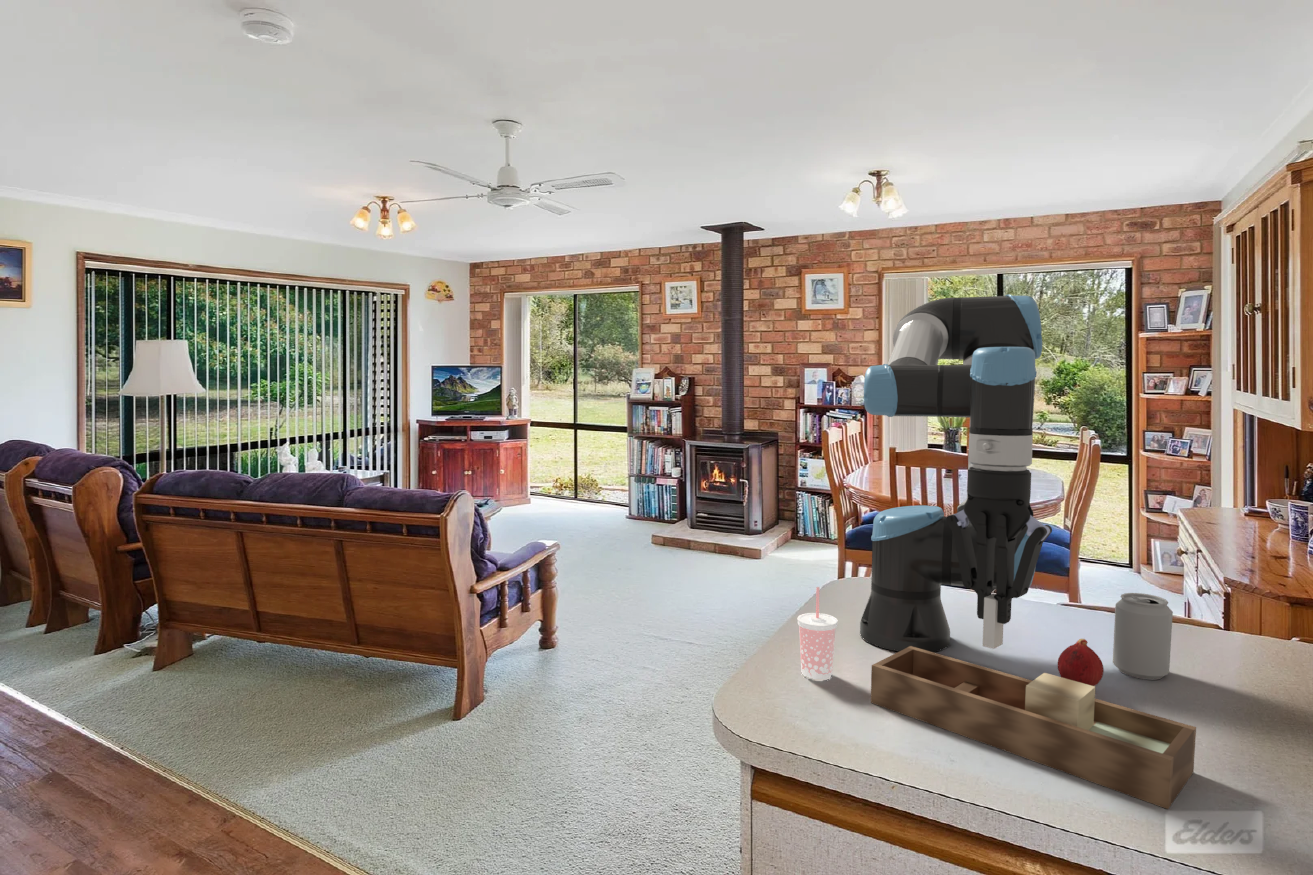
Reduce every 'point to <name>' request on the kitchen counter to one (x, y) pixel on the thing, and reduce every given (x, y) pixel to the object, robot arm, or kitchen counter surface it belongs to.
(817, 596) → the beverage cup
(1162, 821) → the kitchen counter surface
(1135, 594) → the can
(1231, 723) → the kitchen counter surface
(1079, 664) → the onion
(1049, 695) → the maple block
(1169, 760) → the wooden compartment tray
